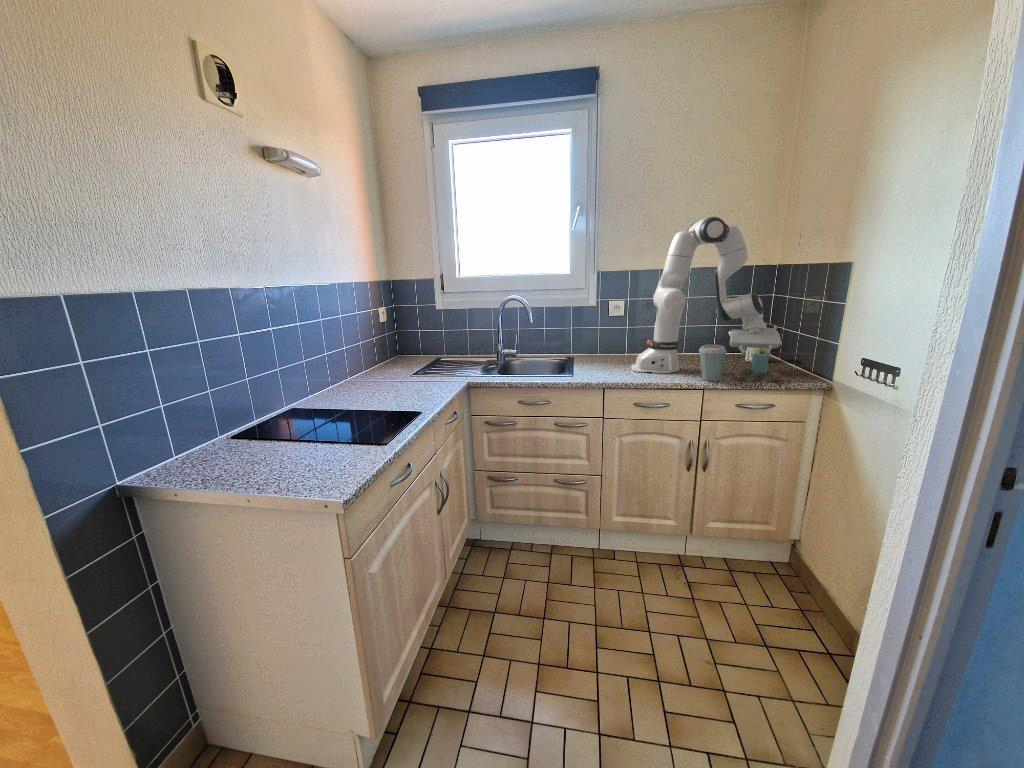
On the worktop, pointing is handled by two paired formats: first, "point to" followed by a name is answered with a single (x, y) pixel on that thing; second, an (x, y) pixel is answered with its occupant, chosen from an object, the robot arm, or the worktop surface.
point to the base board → (758, 376)
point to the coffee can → (754, 352)
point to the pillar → (759, 363)
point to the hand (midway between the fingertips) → (755, 354)
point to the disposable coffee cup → (712, 361)
